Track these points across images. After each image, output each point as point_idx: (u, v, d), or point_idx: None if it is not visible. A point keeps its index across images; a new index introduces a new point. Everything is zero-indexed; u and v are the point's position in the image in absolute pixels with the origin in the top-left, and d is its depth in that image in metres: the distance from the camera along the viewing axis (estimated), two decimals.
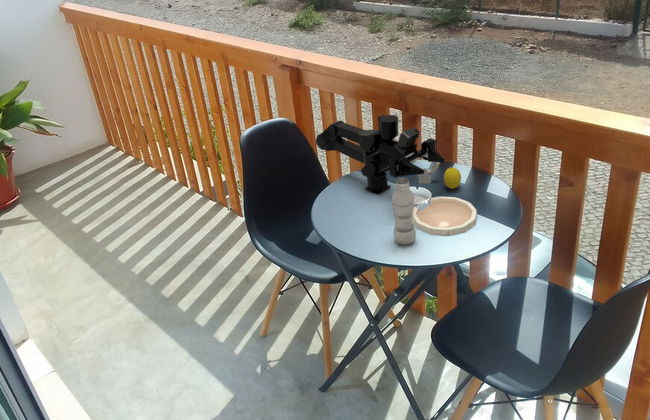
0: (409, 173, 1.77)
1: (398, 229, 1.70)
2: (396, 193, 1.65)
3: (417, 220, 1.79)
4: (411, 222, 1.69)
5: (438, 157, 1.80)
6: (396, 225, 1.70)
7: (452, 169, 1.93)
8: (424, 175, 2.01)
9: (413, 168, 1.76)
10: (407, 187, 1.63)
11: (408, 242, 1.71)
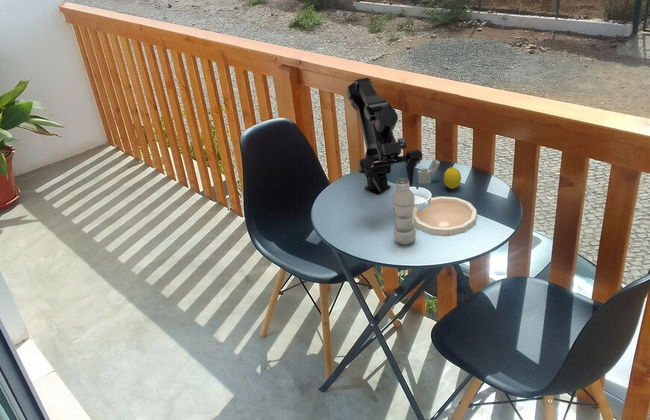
0: (372, 180, 1.76)
1: (398, 229, 1.70)
2: (396, 193, 1.65)
3: (417, 220, 1.79)
4: (411, 222, 1.69)
5: (409, 178, 1.75)
6: (396, 225, 1.70)
7: (452, 169, 1.93)
8: (424, 175, 2.01)
9: (375, 181, 1.74)
10: (407, 187, 1.63)
11: (408, 242, 1.71)
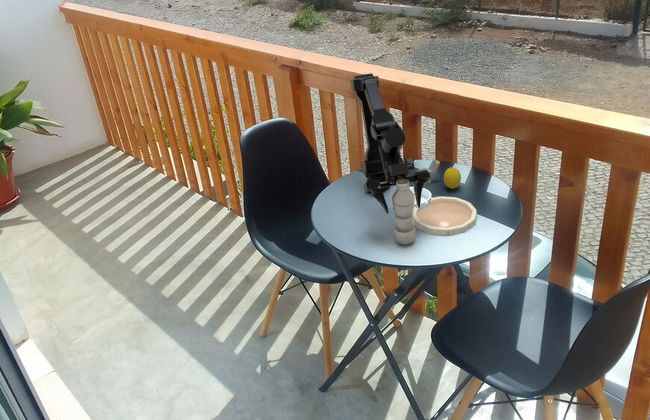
0: (378, 201, 1.71)
1: (398, 229, 1.70)
2: (396, 193, 1.65)
3: (417, 220, 1.79)
4: (411, 222, 1.69)
5: (417, 200, 1.70)
6: (396, 225, 1.70)
7: (452, 169, 1.93)
8: None
9: (382, 203, 1.69)
10: (407, 187, 1.63)
11: (408, 242, 1.71)
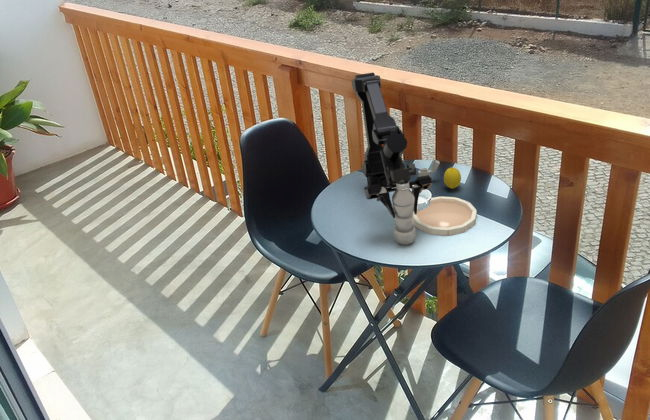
0: (385, 205, 1.70)
1: (398, 229, 1.70)
2: (396, 193, 1.65)
3: (417, 220, 1.79)
4: (411, 222, 1.69)
5: (414, 206, 1.69)
6: (396, 225, 1.70)
7: (452, 169, 1.93)
8: (424, 175, 2.01)
9: (388, 207, 1.68)
10: (407, 187, 1.63)
11: (408, 242, 1.71)
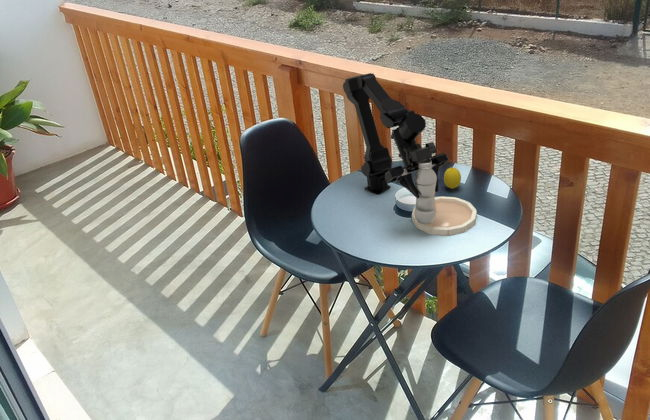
0: (406, 187, 1.71)
1: (422, 209, 1.71)
2: (419, 173, 1.66)
3: None
4: (434, 200, 1.71)
5: None
6: (419, 205, 1.71)
7: (452, 169, 1.93)
8: None
9: (411, 188, 1.69)
10: (430, 165, 1.65)
11: (431, 221, 1.73)
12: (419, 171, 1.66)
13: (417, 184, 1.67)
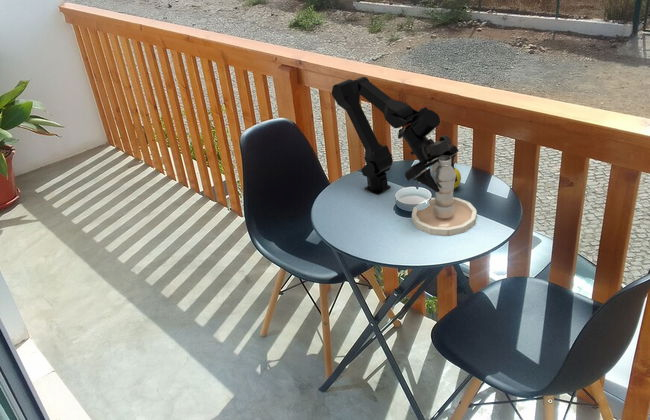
0: (424, 183, 1.75)
1: (443, 205, 1.77)
2: (441, 170, 1.72)
3: (417, 220, 1.79)
4: None
5: None
6: (440, 202, 1.77)
7: None
8: None
9: (431, 183, 1.73)
10: None
11: (452, 215, 1.80)
12: (440, 169, 1.72)
13: (439, 181, 1.73)
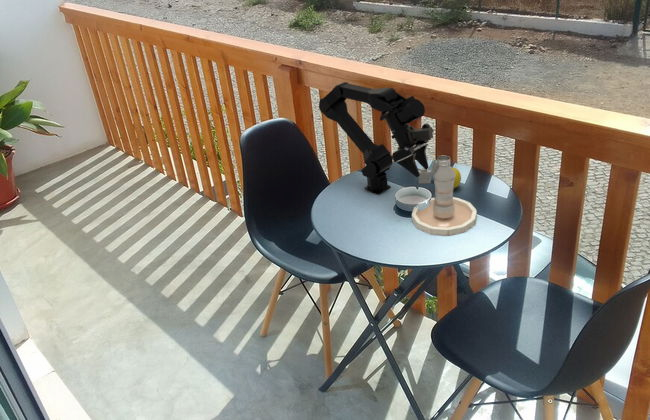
0: (406, 167, 1.79)
1: (443, 205, 1.77)
2: (440, 170, 1.72)
3: (417, 220, 1.79)
4: (452, 195, 1.78)
5: (425, 162, 1.87)
6: (440, 202, 1.77)
7: None
8: (424, 175, 2.01)
9: (414, 167, 1.79)
10: (450, 162, 1.72)
11: (452, 215, 1.80)
12: (439, 169, 1.73)
13: (439, 181, 1.73)
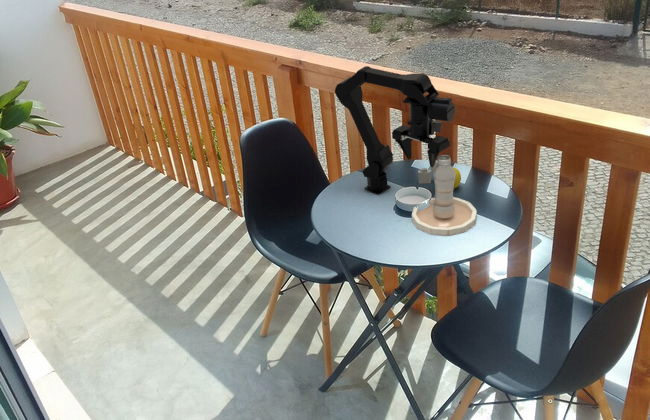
0: (432, 157, 1.80)
1: (443, 205, 1.77)
2: (441, 170, 1.72)
3: (417, 220, 1.79)
4: None
5: (410, 152, 1.90)
6: (440, 201, 1.77)
7: None
8: (424, 175, 2.01)
9: (436, 158, 1.82)
10: (450, 161, 1.72)
11: (452, 215, 1.80)
12: (440, 168, 1.73)
13: (439, 181, 1.74)
